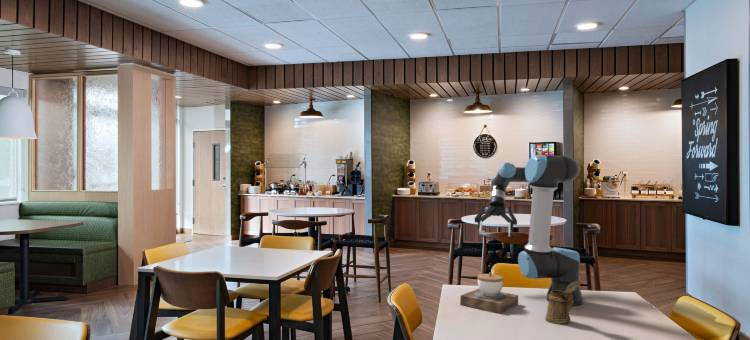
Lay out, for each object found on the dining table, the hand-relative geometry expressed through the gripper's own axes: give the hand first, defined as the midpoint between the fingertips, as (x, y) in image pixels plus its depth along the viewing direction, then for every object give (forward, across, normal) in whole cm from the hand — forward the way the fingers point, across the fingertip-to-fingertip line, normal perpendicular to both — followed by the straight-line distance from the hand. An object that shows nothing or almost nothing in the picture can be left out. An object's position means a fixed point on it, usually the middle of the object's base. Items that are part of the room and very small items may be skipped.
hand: (494, 234), depth 243 cm
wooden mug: (+49, -29, +11) cm, 58 cm away
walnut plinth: (+38, -1, +1) cm, 38 cm away
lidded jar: (+35, -1, +3) cm, 36 cm away
